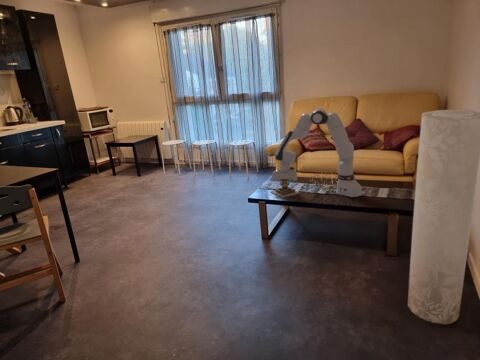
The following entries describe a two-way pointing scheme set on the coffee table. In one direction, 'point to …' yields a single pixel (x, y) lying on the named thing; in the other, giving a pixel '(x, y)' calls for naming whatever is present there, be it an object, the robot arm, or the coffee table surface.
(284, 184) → the bobbin
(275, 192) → the pocket board
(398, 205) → the coffee table surface
